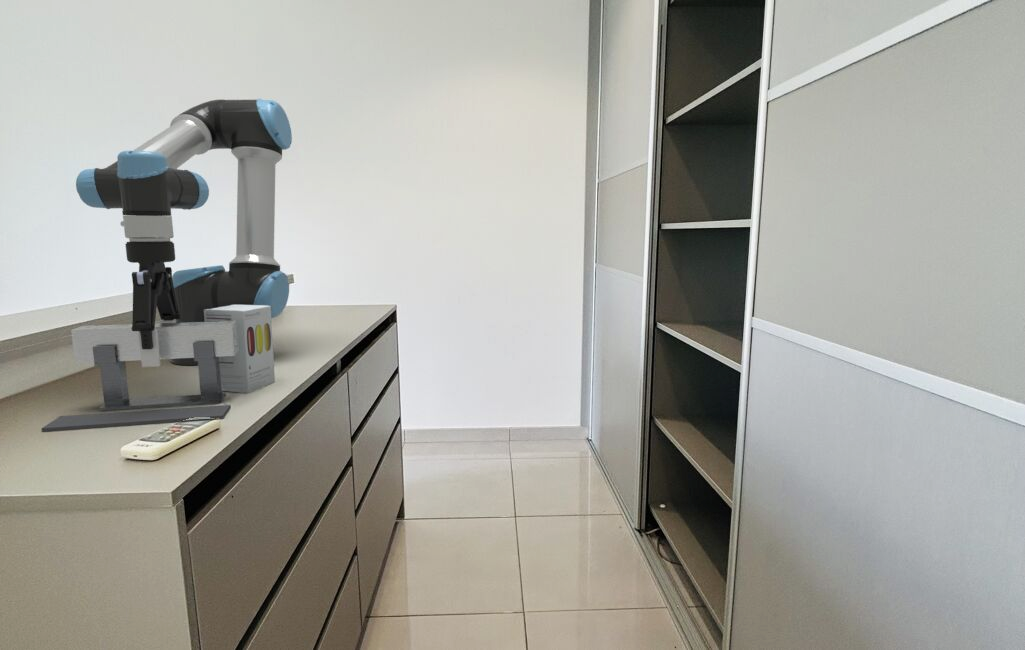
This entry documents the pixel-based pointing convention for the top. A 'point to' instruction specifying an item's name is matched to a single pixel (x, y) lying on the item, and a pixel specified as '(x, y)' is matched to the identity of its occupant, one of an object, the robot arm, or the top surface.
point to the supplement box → (246, 347)
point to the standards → (119, 397)
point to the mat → (134, 418)
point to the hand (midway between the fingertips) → (161, 359)
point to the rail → (171, 340)
